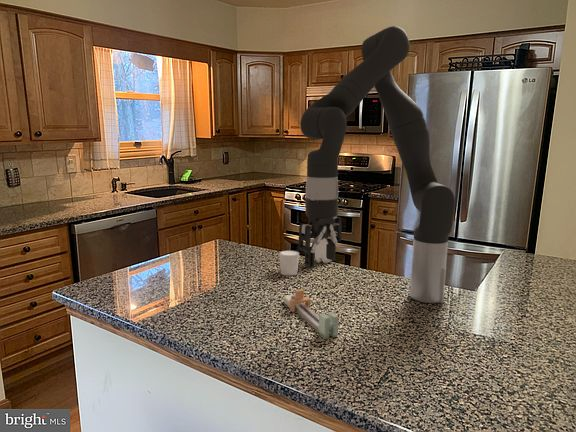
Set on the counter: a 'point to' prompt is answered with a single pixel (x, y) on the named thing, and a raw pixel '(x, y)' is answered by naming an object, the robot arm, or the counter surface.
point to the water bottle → (321, 252)
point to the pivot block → (287, 300)
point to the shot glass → (289, 262)
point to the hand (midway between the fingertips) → (320, 263)
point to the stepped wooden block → (299, 299)
